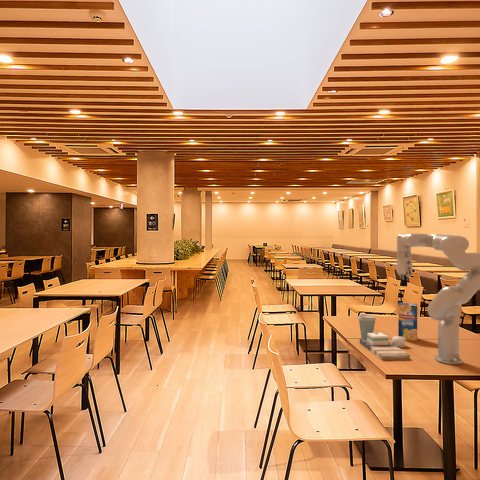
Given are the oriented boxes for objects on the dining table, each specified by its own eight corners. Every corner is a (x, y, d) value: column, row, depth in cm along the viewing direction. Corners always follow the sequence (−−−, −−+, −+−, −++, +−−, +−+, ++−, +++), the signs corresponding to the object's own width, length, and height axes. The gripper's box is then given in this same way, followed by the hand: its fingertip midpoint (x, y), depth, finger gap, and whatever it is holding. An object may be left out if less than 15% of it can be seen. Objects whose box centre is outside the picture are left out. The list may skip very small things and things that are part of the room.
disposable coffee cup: (371, 336, 242) (371, 313, 242) (378, 341, 231) (378, 317, 231) (355, 336, 241) (355, 313, 241) (361, 341, 231) (361, 317, 231)
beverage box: (417, 340, 231) (417, 305, 231) (398, 339, 235) (398, 304, 235) (417, 338, 237) (417, 303, 237) (398, 336, 242) (398, 302, 241)
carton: (388, 344, 214) (388, 335, 214) (372, 345, 213) (372, 335, 213) (381, 341, 222) (381, 331, 222) (367, 341, 221) (367, 332, 221)
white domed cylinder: (407, 347, 217) (407, 339, 217) (395, 347, 217) (395, 339, 217) (401, 344, 224) (401, 335, 224) (390, 344, 224) (390, 336, 224)
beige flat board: (409, 359, 195) (409, 354, 195) (381, 360, 195) (381, 355, 195) (383, 342, 227) (383, 338, 227) (359, 342, 227) (359, 338, 227)
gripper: (417, 255, 211) (417, 287, 211) (403, 254, 226) (403, 284, 226) (404, 255, 210) (404, 288, 210) (391, 254, 225) (391, 284, 225)
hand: (403, 286), depth 218 cm, fingers closed
